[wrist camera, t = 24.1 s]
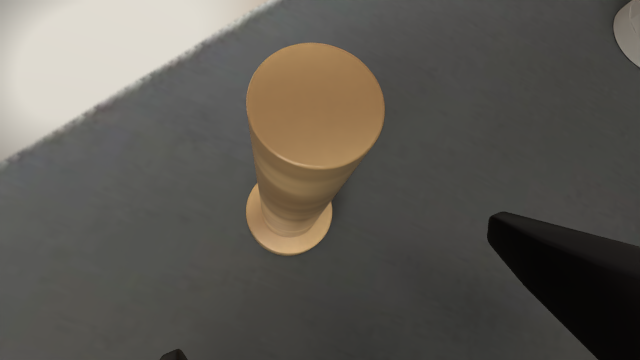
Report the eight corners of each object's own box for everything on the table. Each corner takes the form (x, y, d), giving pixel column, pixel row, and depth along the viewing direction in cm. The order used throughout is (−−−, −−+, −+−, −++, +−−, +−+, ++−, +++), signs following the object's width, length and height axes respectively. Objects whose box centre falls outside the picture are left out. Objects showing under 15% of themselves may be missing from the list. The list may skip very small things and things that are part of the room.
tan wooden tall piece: (343, 211, 20) (462, 99, 7) (292, 273, 19) (333, 261, 6) (285, 161, 20) (305, -26, 8) (230, 218, 19) (151, 105, 7)
